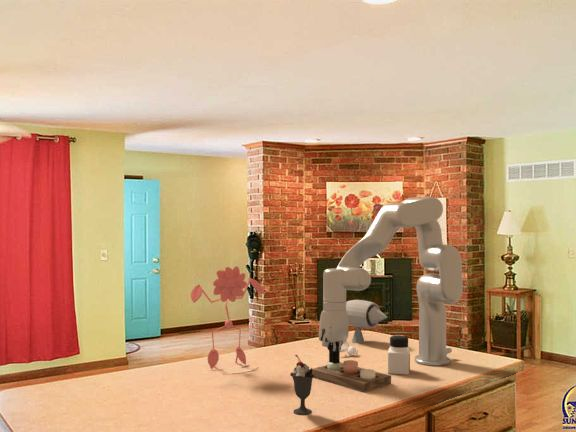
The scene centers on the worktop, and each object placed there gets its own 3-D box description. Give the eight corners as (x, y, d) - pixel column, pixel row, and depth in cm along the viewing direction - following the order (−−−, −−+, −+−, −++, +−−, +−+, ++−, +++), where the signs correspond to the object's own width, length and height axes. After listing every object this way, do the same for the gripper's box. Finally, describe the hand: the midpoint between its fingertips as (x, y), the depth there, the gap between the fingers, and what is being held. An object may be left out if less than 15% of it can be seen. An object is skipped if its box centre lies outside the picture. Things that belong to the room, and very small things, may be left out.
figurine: (186, 366, 198) (188, 265, 198) (256, 359, 209) (257, 263, 208) (199, 379, 184) (201, 270, 184) (273, 370, 195) (275, 268, 195)
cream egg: (366, 379, 181) (366, 368, 181) (378, 382, 178) (378, 371, 178) (357, 382, 178) (357, 371, 178) (368, 385, 175) (368, 374, 175)
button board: (338, 369, 196) (338, 362, 196) (391, 383, 179) (391, 375, 179) (311, 376, 187) (311, 368, 187) (364, 392, 171) (364, 383, 171)
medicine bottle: (409, 375, 189) (410, 338, 189) (387, 373, 191) (388, 337, 191) (409, 369, 196) (409, 334, 196) (388, 368, 198) (388, 333, 198)
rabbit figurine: (357, 358, 212) (337, 347, 213) (353, 363, 215) (334, 353, 216) (361, 346, 217) (342, 336, 218) (357, 352, 219) (338, 342, 220)
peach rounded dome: (349, 370, 186) (350, 359, 186) (360, 373, 183) (360, 362, 183) (340, 372, 183) (340, 361, 183) (351, 375, 180) (351, 364, 180)
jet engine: (355, 349, 226) (355, 304, 226) (336, 338, 245) (336, 297, 245) (389, 347, 230) (389, 303, 230) (368, 336, 250) (368, 296, 250)
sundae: (288, 408, 156) (289, 352, 156) (313, 407, 157) (313, 352, 157) (291, 416, 150) (291, 358, 150) (316, 415, 150) (316, 358, 150)
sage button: (334, 370, 191) (334, 360, 191) (344, 373, 188) (344, 362, 188) (324, 373, 188) (324, 362, 188) (334, 376, 185) (334, 365, 185)
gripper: (341, 302, 196) (341, 356, 196) (310, 307, 186) (310, 364, 186) (358, 305, 191) (358, 360, 190) (327, 310, 180) (326, 368, 180)
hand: (334, 362), depth 188 cm, fingers closed
